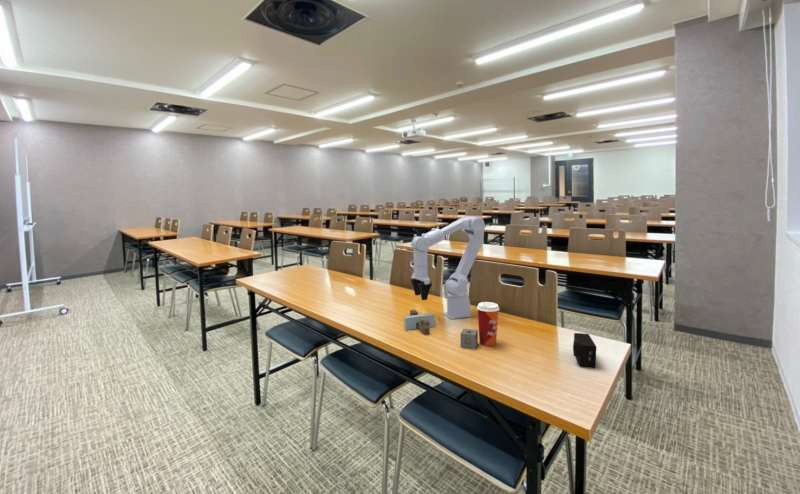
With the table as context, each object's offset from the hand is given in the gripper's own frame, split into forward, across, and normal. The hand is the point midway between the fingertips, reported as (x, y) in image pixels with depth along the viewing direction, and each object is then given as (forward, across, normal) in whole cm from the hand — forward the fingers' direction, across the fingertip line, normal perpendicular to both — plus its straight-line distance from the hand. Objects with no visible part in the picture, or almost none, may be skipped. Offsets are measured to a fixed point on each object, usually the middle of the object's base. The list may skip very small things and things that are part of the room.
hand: (421, 297), depth 152 cm
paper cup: (+10, +31, +13) cm, 35 cm away
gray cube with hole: (+10, +30, +6) cm, 33 cm away
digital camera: (+10, +53, +33) cm, 63 cm away
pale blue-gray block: (+10, +8, -4) cm, 13 cm away
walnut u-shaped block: (+10, +8, -4) cm, 13 cm away
